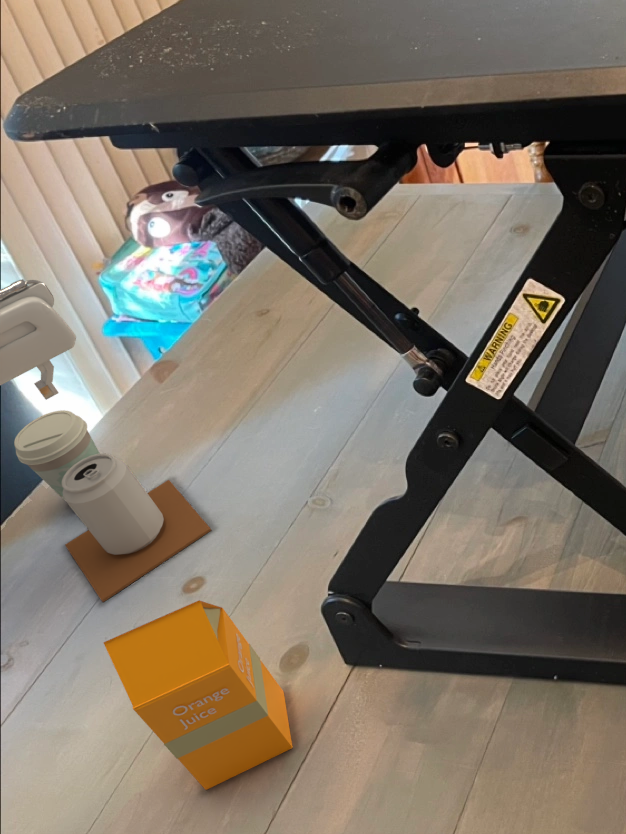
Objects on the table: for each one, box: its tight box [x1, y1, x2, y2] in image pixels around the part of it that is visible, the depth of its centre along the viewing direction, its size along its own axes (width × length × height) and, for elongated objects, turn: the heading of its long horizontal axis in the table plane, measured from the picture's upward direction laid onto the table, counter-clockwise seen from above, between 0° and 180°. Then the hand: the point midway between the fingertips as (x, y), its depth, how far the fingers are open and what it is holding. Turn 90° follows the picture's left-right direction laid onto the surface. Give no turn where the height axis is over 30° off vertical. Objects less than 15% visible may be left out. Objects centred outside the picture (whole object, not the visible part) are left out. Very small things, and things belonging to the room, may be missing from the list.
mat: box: [64, 479, 212, 603], centre depth 135 cm, size 14×14×1 cm
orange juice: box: [102, 600, 294, 791], centre depth 103 cm, size 8×9×20 cm
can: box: [62, 452, 164, 555], centre depth 131 cm, size 8×8×12 cm
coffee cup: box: [13, 409, 101, 501], centre depth 139 cm, size 9×8×12 cm
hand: (8, 417), depth 118 cm, fingers open, 8 cm apart
